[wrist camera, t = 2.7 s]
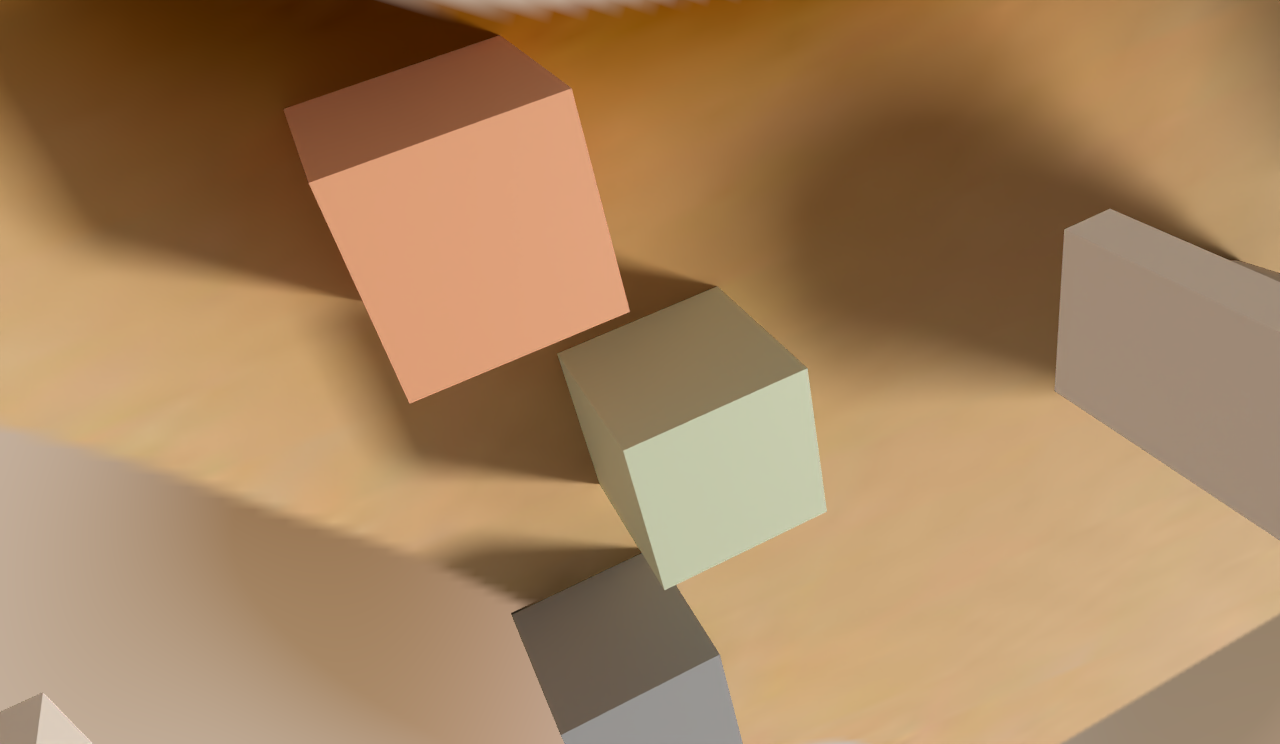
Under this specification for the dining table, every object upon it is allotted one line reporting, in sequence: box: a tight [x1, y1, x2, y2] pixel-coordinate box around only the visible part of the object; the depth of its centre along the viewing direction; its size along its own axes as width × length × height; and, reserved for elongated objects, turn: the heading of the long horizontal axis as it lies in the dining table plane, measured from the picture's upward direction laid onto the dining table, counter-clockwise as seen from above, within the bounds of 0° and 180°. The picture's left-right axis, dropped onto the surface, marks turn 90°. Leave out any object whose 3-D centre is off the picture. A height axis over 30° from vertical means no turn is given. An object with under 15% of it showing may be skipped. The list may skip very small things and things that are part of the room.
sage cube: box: [557, 287, 827, 590], centre depth 26 cm, size 5×5×5 cm
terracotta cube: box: [283, 35, 630, 404], centre depth 20 cm, size 5×5×5 cm
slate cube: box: [511, 553, 743, 744], centre depth 30 cm, size 5×5×5 cm
